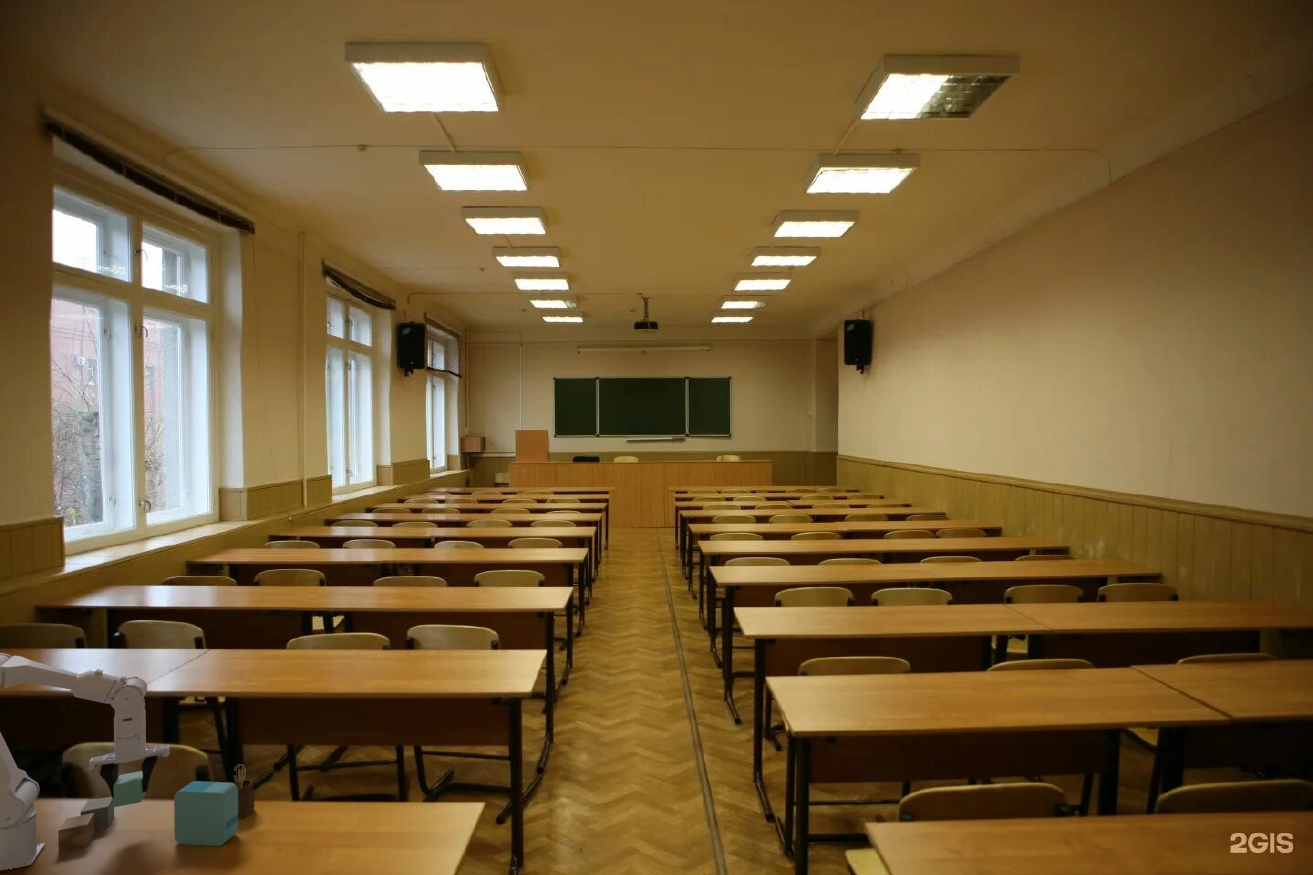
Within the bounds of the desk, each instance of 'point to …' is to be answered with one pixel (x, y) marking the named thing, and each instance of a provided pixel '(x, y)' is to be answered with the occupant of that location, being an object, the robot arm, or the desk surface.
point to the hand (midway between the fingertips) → (130, 792)
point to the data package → (206, 813)
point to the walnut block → (76, 832)
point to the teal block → (128, 789)
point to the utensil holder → (244, 795)
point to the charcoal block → (100, 811)
